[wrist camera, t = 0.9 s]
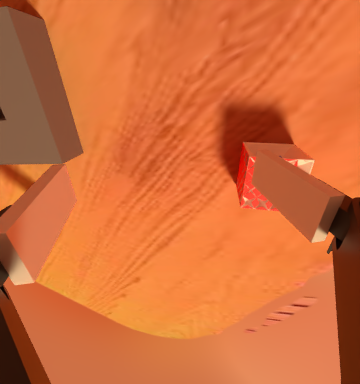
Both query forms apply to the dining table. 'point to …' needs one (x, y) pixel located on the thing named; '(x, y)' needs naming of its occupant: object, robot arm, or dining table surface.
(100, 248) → the dining table surface
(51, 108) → the block
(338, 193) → the robot arm
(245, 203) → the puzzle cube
